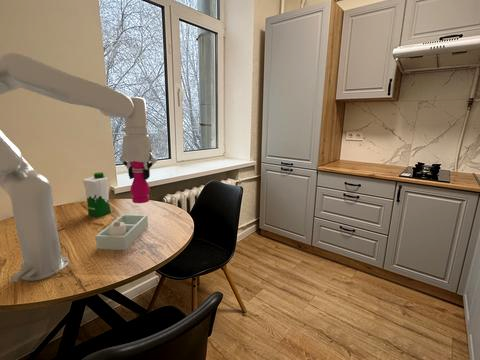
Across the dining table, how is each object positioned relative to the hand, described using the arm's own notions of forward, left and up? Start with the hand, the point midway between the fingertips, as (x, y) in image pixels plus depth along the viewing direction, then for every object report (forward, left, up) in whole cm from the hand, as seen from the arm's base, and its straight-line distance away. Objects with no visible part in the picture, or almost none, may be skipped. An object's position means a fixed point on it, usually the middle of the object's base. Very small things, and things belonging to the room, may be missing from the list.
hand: (139, 178), depth 101 cm
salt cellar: (-10, +6, -23) cm, 25 cm away
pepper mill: (0, 0, -10) cm, 10 cm away
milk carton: (+19, +30, -24) cm, 43 cm away
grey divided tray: (-5, +6, -24) cm, 25 cm away
